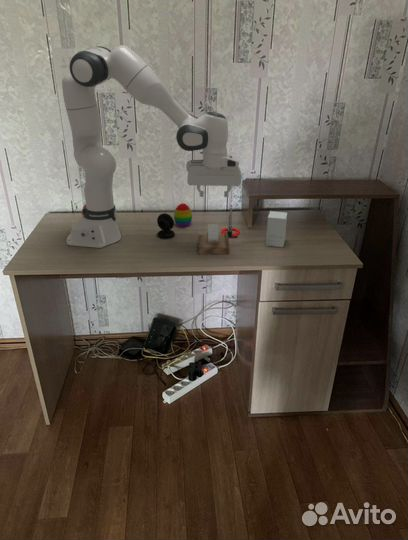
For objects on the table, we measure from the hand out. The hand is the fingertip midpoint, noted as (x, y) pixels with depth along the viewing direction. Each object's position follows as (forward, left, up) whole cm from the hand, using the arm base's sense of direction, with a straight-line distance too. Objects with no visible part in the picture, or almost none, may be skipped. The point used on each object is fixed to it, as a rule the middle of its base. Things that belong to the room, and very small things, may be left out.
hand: (213, 196), depth 154 cm
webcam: (-20, +12, -22) cm, 32 cm away
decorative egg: (-13, +24, -22) cm, 35 cm away
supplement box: (+26, +4, -22) cm, 34 cm away
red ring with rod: (+8, +14, -22) cm, 27 cm away
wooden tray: (0, 0, -22) cm, 22 cm away
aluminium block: (0, 0, -19) cm, 19 cm away
